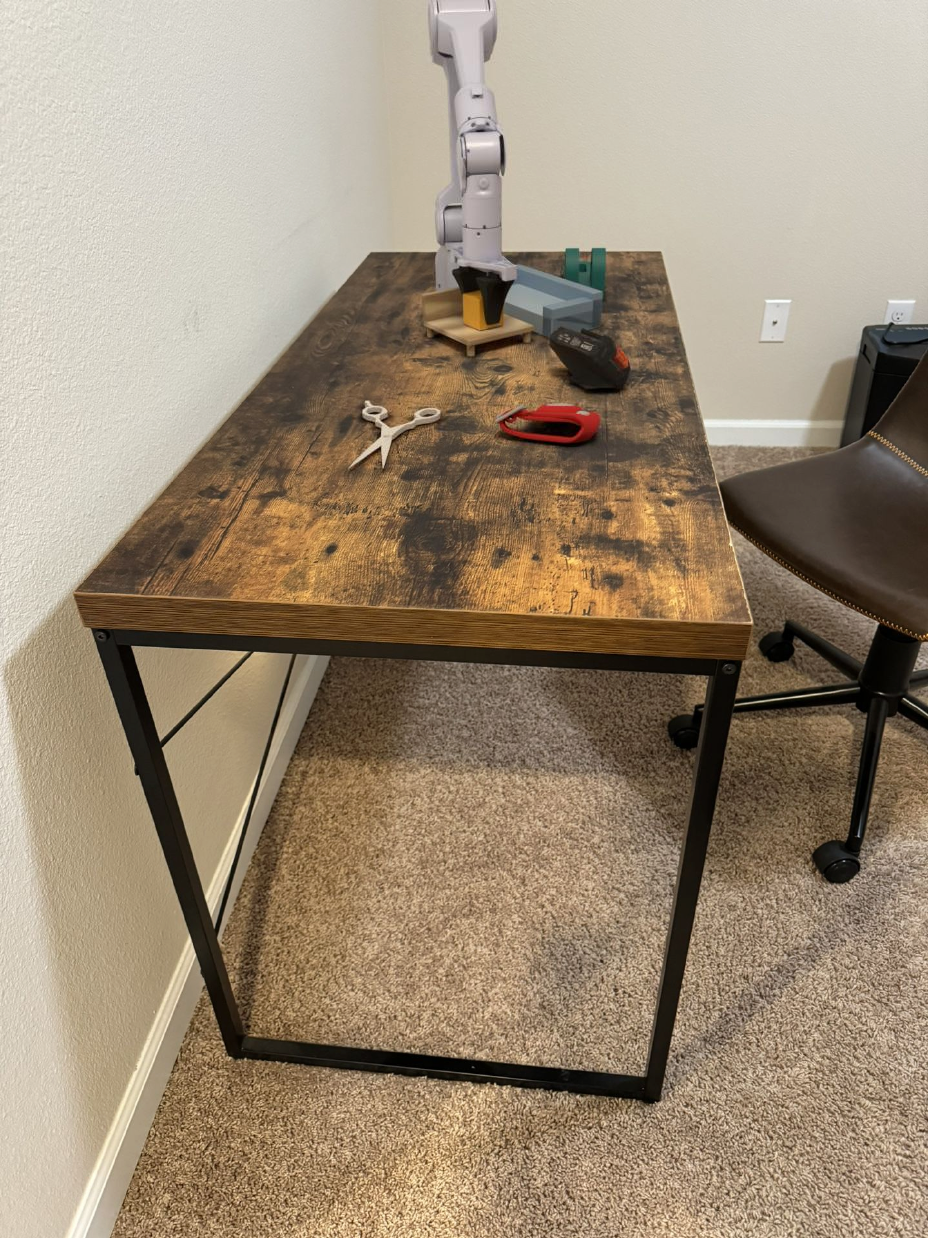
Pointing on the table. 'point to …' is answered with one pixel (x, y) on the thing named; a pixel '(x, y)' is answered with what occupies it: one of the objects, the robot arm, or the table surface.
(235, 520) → the table surface
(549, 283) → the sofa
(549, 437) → the tracker holder
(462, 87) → the robot arm
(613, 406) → the table surface
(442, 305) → the low wooden bench
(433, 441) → the table surface
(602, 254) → the bracket
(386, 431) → the scissors
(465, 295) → the block
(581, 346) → the battery
